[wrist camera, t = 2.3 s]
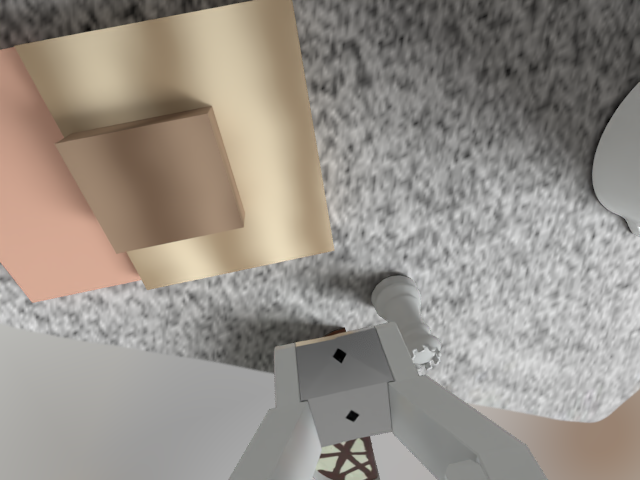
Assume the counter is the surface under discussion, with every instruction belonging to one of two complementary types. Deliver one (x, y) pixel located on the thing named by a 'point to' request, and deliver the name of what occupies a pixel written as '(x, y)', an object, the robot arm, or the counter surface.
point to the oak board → (231, 114)
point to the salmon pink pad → (46, 201)
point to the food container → (347, 457)
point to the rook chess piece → (407, 318)
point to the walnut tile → (156, 179)
